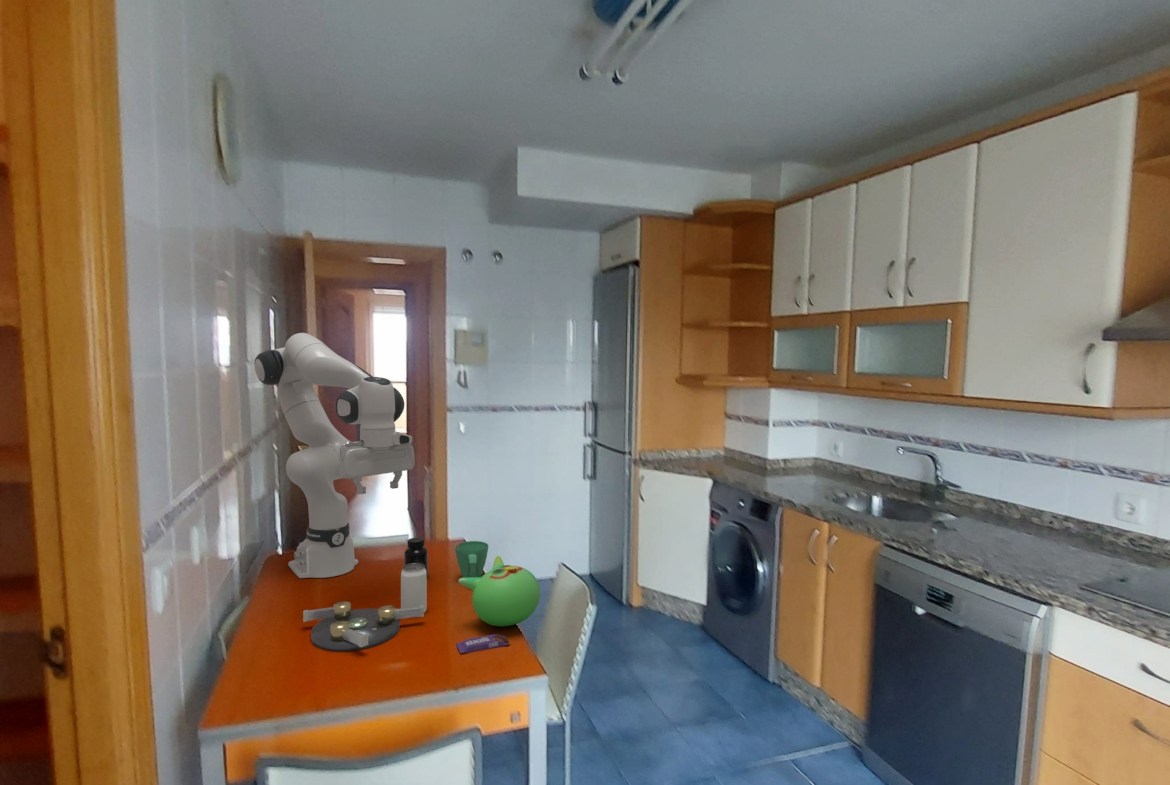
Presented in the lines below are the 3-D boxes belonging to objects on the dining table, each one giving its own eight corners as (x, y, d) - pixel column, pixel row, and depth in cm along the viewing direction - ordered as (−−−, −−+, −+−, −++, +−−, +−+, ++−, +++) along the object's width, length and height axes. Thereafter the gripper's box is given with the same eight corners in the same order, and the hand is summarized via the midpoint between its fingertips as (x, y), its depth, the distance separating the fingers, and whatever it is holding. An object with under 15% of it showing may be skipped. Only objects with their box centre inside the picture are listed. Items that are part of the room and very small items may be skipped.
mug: (454, 574, 189) (454, 542, 188) (487, 571, 191) (487, 540, 191) (455, 591, 175) (455, 557, 174) (490, 589, 177) (490, 555, 176)
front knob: (326, 638, 141) (326, 625, 141) (341, 632, 145) (341, 619, 145) (357, 650, 136) (357, 637, 135) (372, 643, 139) (372, 630, 139)
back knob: (350, 612, 156) (350, 600, 156) (351, 618, 152) (350, 606, 152) (303, 618, 152) (303, 606, 152) (303, 625, 148) (303, 612, 148)
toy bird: (510, 643, 144) (511, 582, 143) (455, 627, 152) (455, 569, 151) (551, 615, 159) (552, 560, 158) (499, 602, 168) (499, 549, 167)
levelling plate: (296, 633, 148) (296, 620, 148) (372, 607, 163) (372, 596, 163) (337, 660, 135) (337, 647, 135) (416, 630, 150) (415, 618, 150)
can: (419, 618, 157) (419, 571, 156) (396, 615, 158) (396, 569, 158) (430, 607, 163) (430, 563, 163) (408, 605, 165) (408, 561, 164)
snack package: (460, 649, 138) (455, 639, 143) (460, 657, 138) (455, 647, 143) (510, 640, 142) (504, 631, 147) (510, 648, 143) (504, 639, 147)
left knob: (378, 625, 149) (378, 613, 148) (378, 618, 152) (378, 606, 152) (424, 619, 152) (424, 607, 152) (423, 613, 156) (423, 601, 156)
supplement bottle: (400, 578, 185) (400, 539, 184) (421, 573, 189) (421, 534, 189) (410, 584, 180) (410, 544, 179) (432, 579, 184) (431, 539, 184)
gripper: (346, 444, 152) (347, 499, 153) (417, 436, 167) (417, 486, 168) (333, 441, 156) (334, 495, 157) (404, 434, 172) (404, 483, 172)
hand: (378, 490), depth 163 cm, fingers open, 8 cm apart
